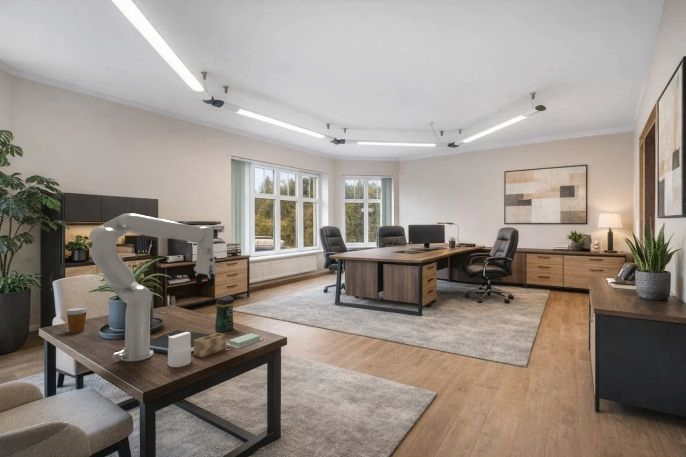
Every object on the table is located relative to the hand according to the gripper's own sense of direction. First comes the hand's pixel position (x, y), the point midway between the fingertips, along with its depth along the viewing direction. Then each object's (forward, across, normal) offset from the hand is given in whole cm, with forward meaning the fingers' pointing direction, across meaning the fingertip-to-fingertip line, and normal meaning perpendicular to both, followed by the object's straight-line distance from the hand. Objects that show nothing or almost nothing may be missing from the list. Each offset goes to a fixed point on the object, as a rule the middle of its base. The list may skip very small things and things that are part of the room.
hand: (204, 285), depth 180 cm
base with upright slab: (+28, -16, +23) cm, 40 cm away
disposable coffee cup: (+28, +67, +31) cm, 79 cm away
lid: (+28, -18, -11) cm, 35 cm away
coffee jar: (+28, +7, -18) cm, 34 cm away
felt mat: (+28, -18, -11) cm, 35 cm away
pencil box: (+28, -16, +8) cm, 33 cm away
